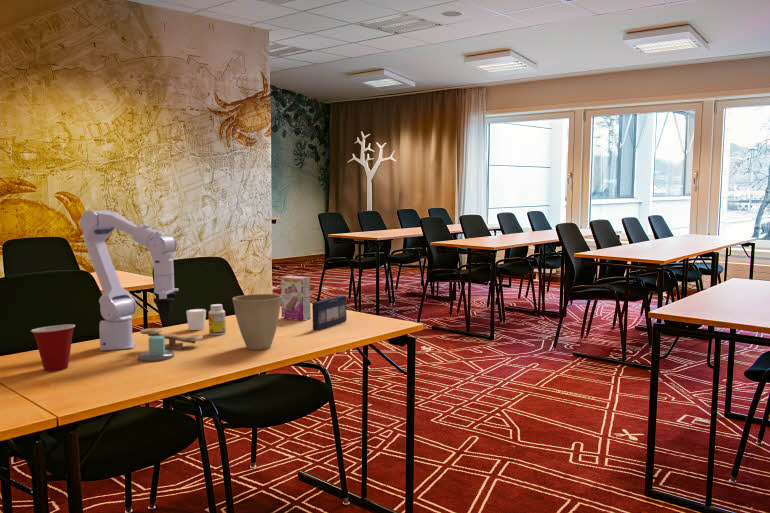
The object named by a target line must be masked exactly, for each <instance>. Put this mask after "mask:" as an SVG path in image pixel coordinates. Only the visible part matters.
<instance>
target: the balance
mask: <svg viewBox="0 0 770 513" xmlns="http://www.w3.org/2000/svg"><path fill="white" fill-rule="evenodd" d="M162 332H163V328H161V327H152V328H150V327H149V328H144V329H141V330H140V332H139V333H140V334H141V335H147V336H148V337H150V336H164V337H165V339H166V340H168V343H165V350H170V351H173V350H182V349H183V346H184V344H183V342H184V343H190V344H196V341H200V340H201V341H202V340H203V339H204V335H202V334H190V335H189V334H188V335H185V336H175V335H171V334H165V333H162ZM176 341H178V342H176Z"/></svg>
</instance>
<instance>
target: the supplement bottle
mask: <svg viewBox="0 0 770 513" xmlns="http://www.w3.org/2000/svg"><path fill="white" fill-rule="evenodd" d="M208 329H209V330H208V332H209V335H210V336H222V335H225V334H226V332H227V327H226V311H225V310H224V308H223V304H221V303H216V304H215V303H214V304H210V310H209V311H208Z"/></svg>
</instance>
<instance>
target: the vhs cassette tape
mask: <svg viewBox="0 0 770 513" xmlns="http://www.w3.org/2000/svg"><path fill="white" fill-rule="evenodd" d="M311 307H312V308H311V310H312V330H313V331H321V330H325V329H328V328H330V327H334V326H337V324H338V325H340V323H341V324H344V323H346V322H347V318H348V317H347V296H346V295H339V296H335V297H334V296H333V297H330V298H326V299H321V300H319V301H314V302H312V306H311ZM345 321H346V322H345ZM343 322H344V323H343Z"/></svg>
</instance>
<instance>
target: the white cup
mask: <svg viewBox="0 0 770 513" xmlns="http://www.w3.org/2000/svg"><path fill="white" fill-rule="evenodd" d="M185 313H186V320H187V325H188V326H187V327H188V330H189V331H190V330H200V331H204V330H205V329H206V317H207V310H206V309H205V308H194V309H193V308H192V309H189V310H188V309H187V310H186V312H185ZM203 329H204V330H203Z"/></svg>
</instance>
